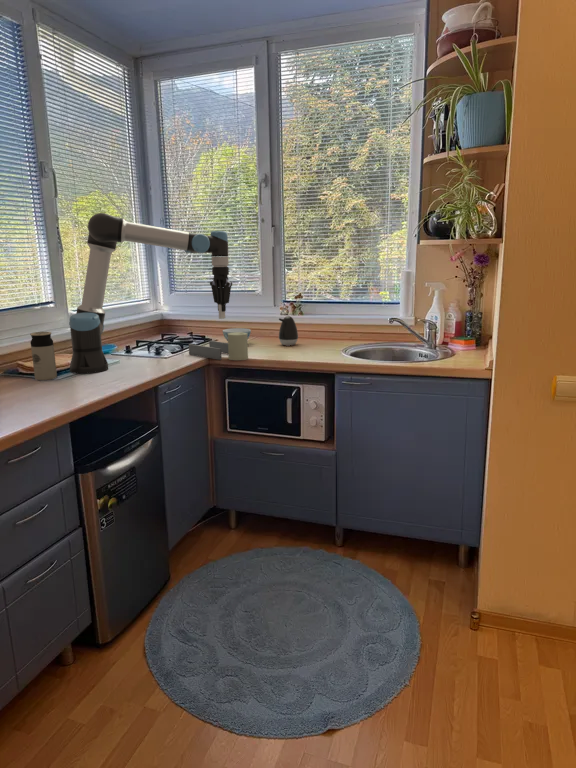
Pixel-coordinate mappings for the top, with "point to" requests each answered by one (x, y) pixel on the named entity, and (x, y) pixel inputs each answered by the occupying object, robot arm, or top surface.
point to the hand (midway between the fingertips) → (222, 318)
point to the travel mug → (43, 356)
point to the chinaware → (236, 331)
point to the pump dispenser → (288, 331)
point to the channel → (209, 350)
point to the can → (237, 346)
